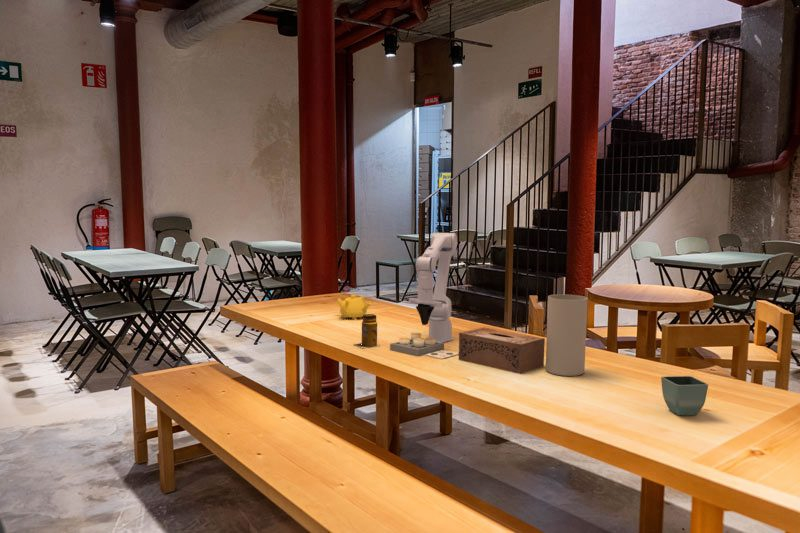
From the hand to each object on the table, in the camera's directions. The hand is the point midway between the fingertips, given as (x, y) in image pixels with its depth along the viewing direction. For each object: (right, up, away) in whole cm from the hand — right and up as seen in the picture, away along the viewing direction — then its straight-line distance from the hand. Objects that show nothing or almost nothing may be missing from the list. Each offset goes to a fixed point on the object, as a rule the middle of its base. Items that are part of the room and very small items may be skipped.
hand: (424, 324), depth 239 cm
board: (-3, -10, +1) cm, 10 cm away
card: (+6, -11, -7) cm, 14 cm away
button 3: (-2, -8, -4) cm, 9 cm away
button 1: (-8, -8, +1) cm, 11 cm away
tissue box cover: (+26, -12, -17) cm, 33 cm away
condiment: (-22, -9, +7) cm, 25 cm away
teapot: (-32, -3, +66) cm, 73 cm away
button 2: (-3, -7, +6) cm, 9 cm away
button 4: (+2, -9, +1) cm, 9 cm away
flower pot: (+66, -18, -69) cm, 97 cm away
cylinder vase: (+45, -13, -28) cm, 55 cm away
